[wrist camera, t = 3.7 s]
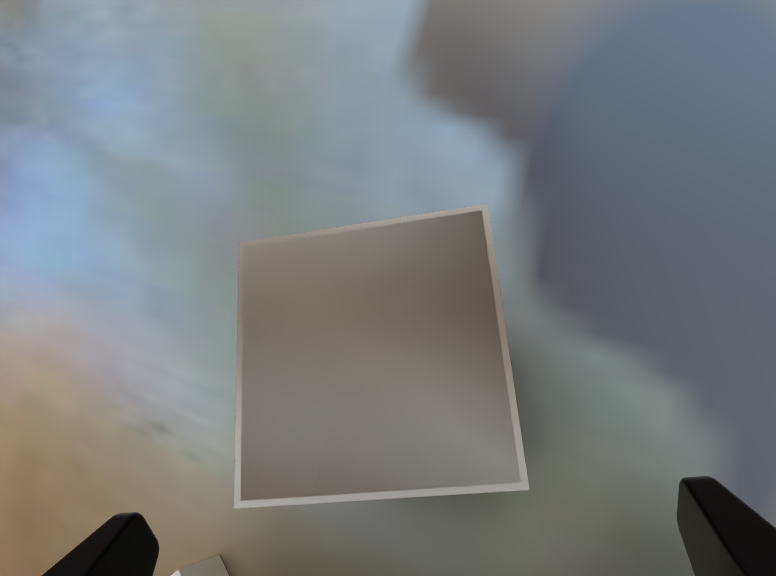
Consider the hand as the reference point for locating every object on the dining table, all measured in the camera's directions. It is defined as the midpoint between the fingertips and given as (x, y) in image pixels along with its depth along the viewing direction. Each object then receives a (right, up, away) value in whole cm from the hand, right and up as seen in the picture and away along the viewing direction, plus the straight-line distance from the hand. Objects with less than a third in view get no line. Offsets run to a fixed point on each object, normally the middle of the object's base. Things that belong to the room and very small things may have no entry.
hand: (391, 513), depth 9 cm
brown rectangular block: (+2, 0, +10) cm, 10 cm away
